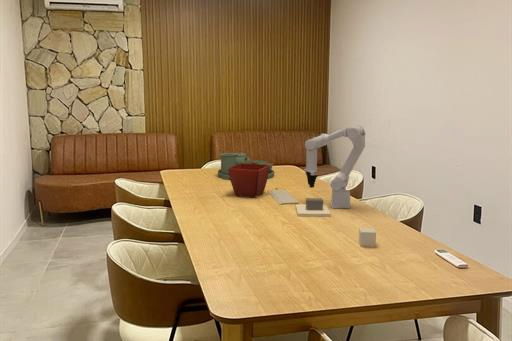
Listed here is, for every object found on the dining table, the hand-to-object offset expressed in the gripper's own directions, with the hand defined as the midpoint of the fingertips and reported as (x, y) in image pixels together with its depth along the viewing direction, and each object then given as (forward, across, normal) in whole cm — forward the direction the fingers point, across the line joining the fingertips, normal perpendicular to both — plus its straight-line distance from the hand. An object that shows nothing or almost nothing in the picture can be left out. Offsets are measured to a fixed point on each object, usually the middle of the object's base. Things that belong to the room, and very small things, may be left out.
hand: (310, 185), depth 266 cm
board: (+9, +19, -1) cm, 21 cm away
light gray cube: (+10, +69, +16) cm, 71 cm away
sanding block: (+8, +19, 0) cm, 21 cm away
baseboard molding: (+10, -12, -15) cm, 22 cm away
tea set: (+10, -78, -38) cm, 87 cm away
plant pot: (+10, -19, -34) cm, 40 cm away
